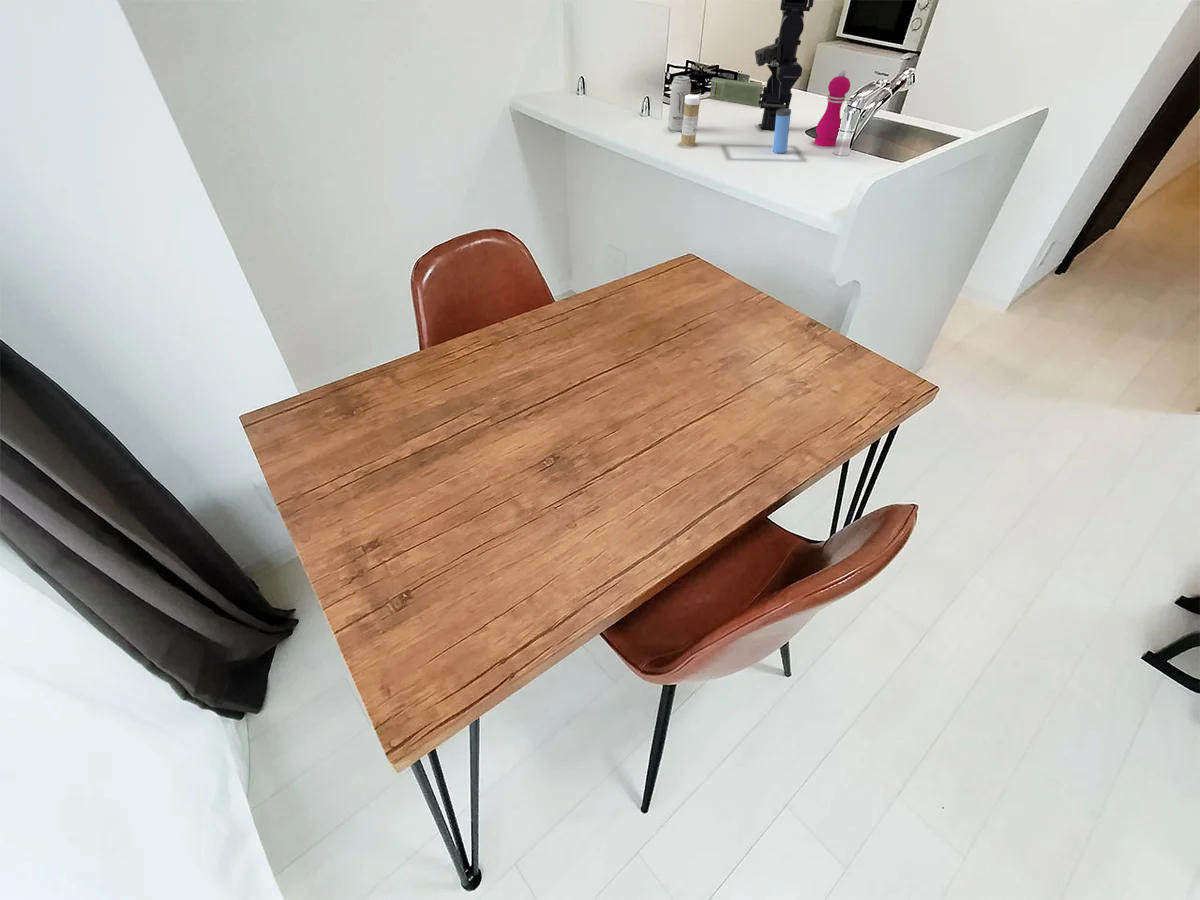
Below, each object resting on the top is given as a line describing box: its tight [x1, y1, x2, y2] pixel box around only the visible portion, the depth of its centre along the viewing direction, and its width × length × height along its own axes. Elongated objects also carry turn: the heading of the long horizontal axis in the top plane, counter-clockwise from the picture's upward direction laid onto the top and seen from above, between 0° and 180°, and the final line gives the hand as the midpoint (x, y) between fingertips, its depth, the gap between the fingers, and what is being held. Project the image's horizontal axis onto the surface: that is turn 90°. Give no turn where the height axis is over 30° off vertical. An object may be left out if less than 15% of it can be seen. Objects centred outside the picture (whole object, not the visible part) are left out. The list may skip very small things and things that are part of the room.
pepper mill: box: [814, 69, 851, 148], centre depth 180 cm, size 7×7×20 cm
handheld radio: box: [709, 77, 766, 107], centre depth 219 cm, size 7×3×25 cm
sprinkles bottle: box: [680, 93, 702, 147], centre depth 180 cm, size 5×5×14 cm
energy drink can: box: [667, 75, 692, 134], centre depth 190 cm, size 6×6×15 cm
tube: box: [772, 108, 792, 154], centre depth 176 cm, size 4×11×4 cm
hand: (777, 98), depth 176 cm, fingers open, 9 cm apart
